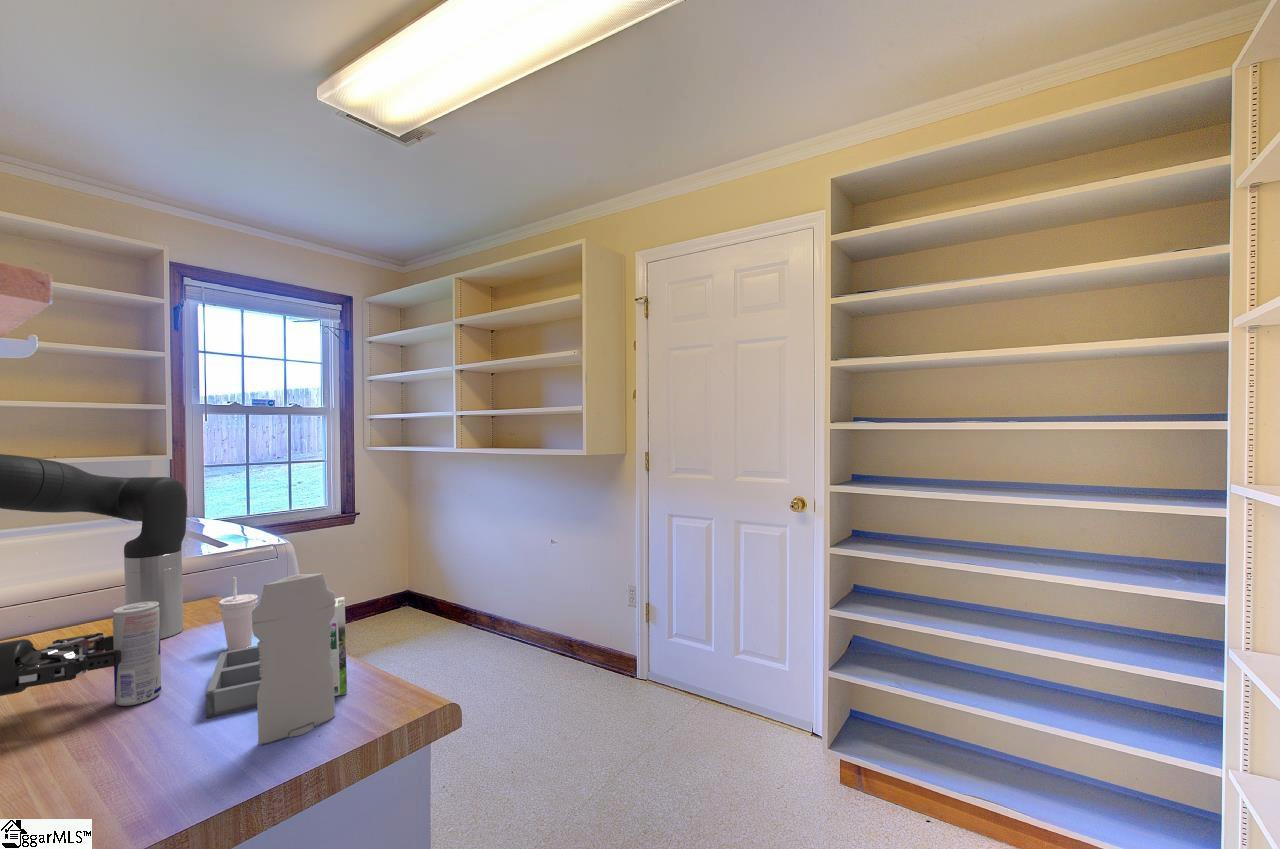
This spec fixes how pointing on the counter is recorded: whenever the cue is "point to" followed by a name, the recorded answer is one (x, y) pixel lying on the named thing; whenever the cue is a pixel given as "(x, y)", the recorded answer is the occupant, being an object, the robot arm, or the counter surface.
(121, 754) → the counter surface
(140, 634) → the beverage can
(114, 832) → the counter surface
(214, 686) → the gray divided tray
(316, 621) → the grey flat bottle
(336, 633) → the syrup box
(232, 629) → the smoothie
